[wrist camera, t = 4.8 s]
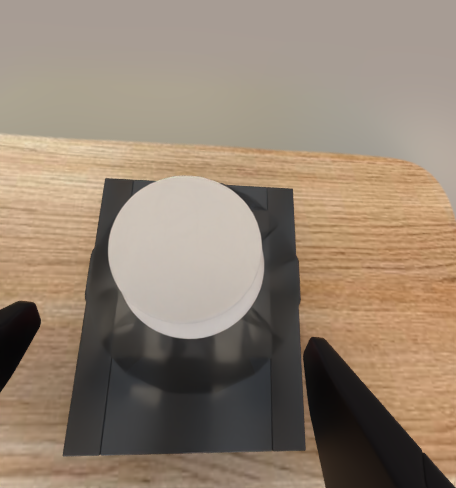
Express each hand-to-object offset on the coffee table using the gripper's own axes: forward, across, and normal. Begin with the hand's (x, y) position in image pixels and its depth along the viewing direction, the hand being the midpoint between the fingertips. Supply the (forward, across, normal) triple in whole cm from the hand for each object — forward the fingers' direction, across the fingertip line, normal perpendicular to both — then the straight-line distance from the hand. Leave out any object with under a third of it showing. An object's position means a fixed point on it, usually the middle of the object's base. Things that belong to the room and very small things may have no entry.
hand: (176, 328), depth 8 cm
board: (+8, 0, +6) cm, 10 cm away
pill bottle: (+9, 0, +5) cm, 10 cm away
